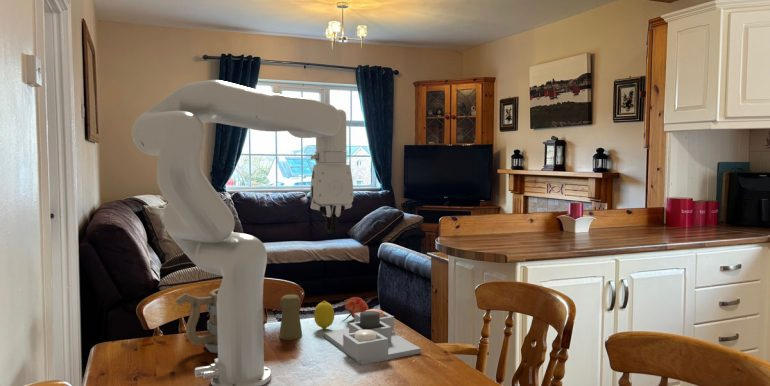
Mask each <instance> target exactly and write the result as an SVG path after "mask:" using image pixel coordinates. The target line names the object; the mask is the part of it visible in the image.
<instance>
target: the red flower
mask: <svg viewBox="0 0 770 386" xmlns="http://www.w3.org/2000/svg"><path fill="white" fill-rule="evenodd" d="M369 300H370V298H368V297H367V298H364V299H362V298H361V297H358V296H353V297H350V298H349V299H348V300H347V301H346V303H345V304H344V308H345V310H346V311H348V312H349V314H348V316H346V317H345V318H344V319H343V320H341V322H342V323H343V322H345V321H346V320H347V319H348V318H350V316H351V318H353V319H354V313H360V312H364V311H366V310H369V305H368V304H367V302H368V301H369Z"/></svg>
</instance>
